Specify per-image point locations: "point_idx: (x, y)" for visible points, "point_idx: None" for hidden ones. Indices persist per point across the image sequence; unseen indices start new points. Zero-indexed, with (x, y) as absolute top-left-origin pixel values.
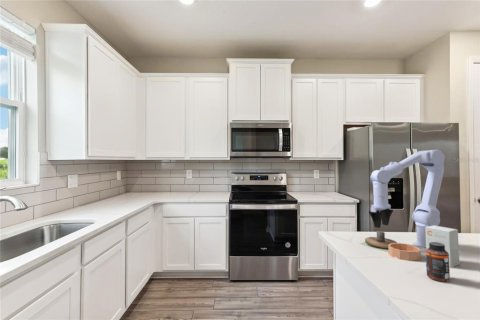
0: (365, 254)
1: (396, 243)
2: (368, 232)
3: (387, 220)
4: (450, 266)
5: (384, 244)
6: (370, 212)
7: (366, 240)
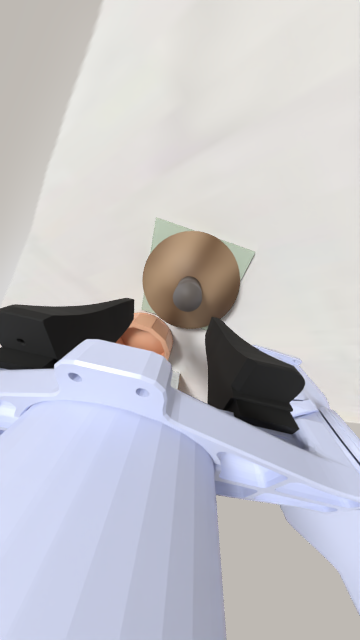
0: (87, 270)
1: (156, 336)
2: None
3: (207, 351)
4: None
5: (160, 304)
6: (5, 325)
7: (162, 245)
